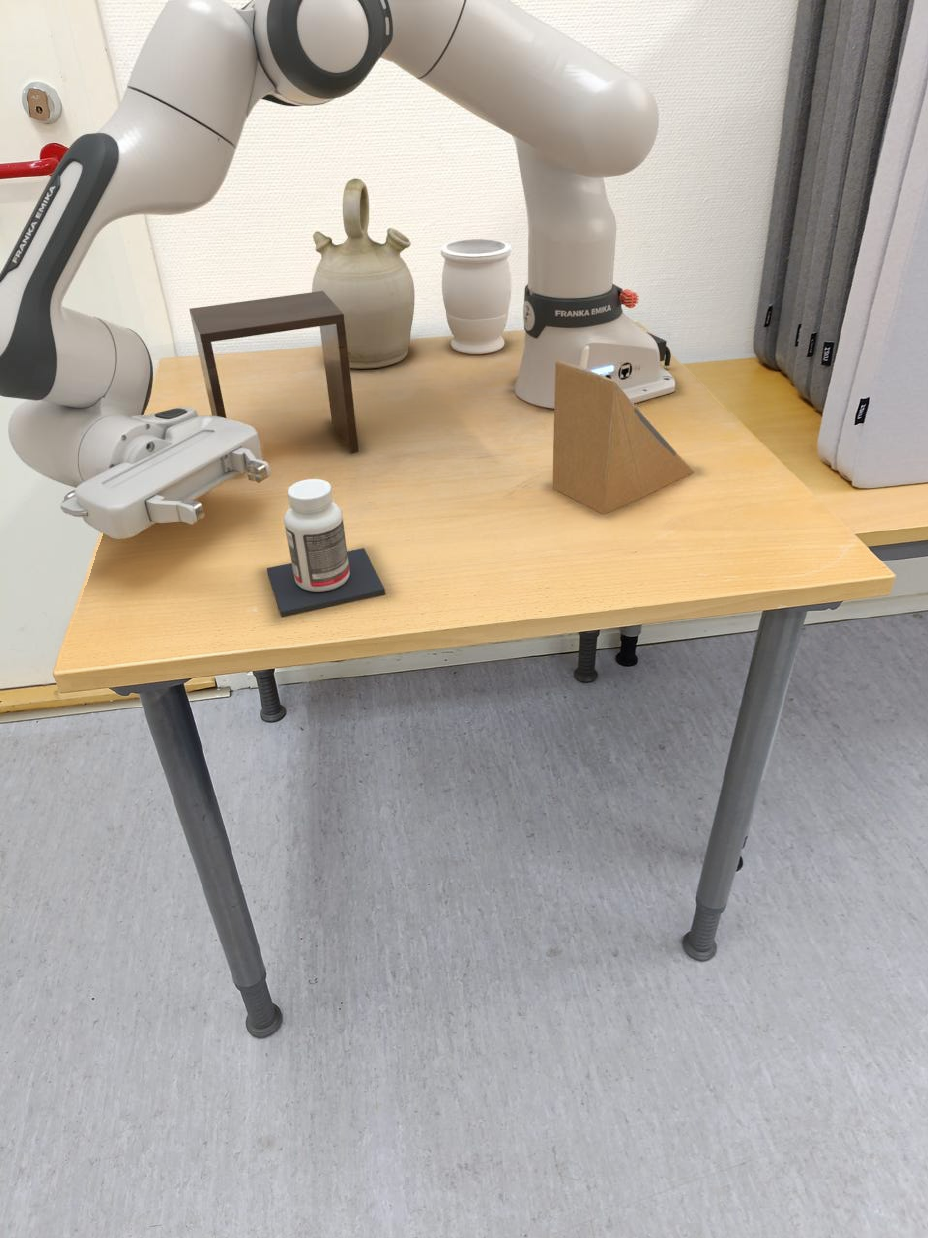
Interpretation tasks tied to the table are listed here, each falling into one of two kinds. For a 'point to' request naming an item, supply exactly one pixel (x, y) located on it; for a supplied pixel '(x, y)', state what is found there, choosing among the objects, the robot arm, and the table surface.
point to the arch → (280, 318)
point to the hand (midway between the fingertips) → (232, 492)
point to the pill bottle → (316, 537)
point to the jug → (367, 285)
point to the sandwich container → (606, 443)
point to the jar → (476, 293)
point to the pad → (299, 600)
